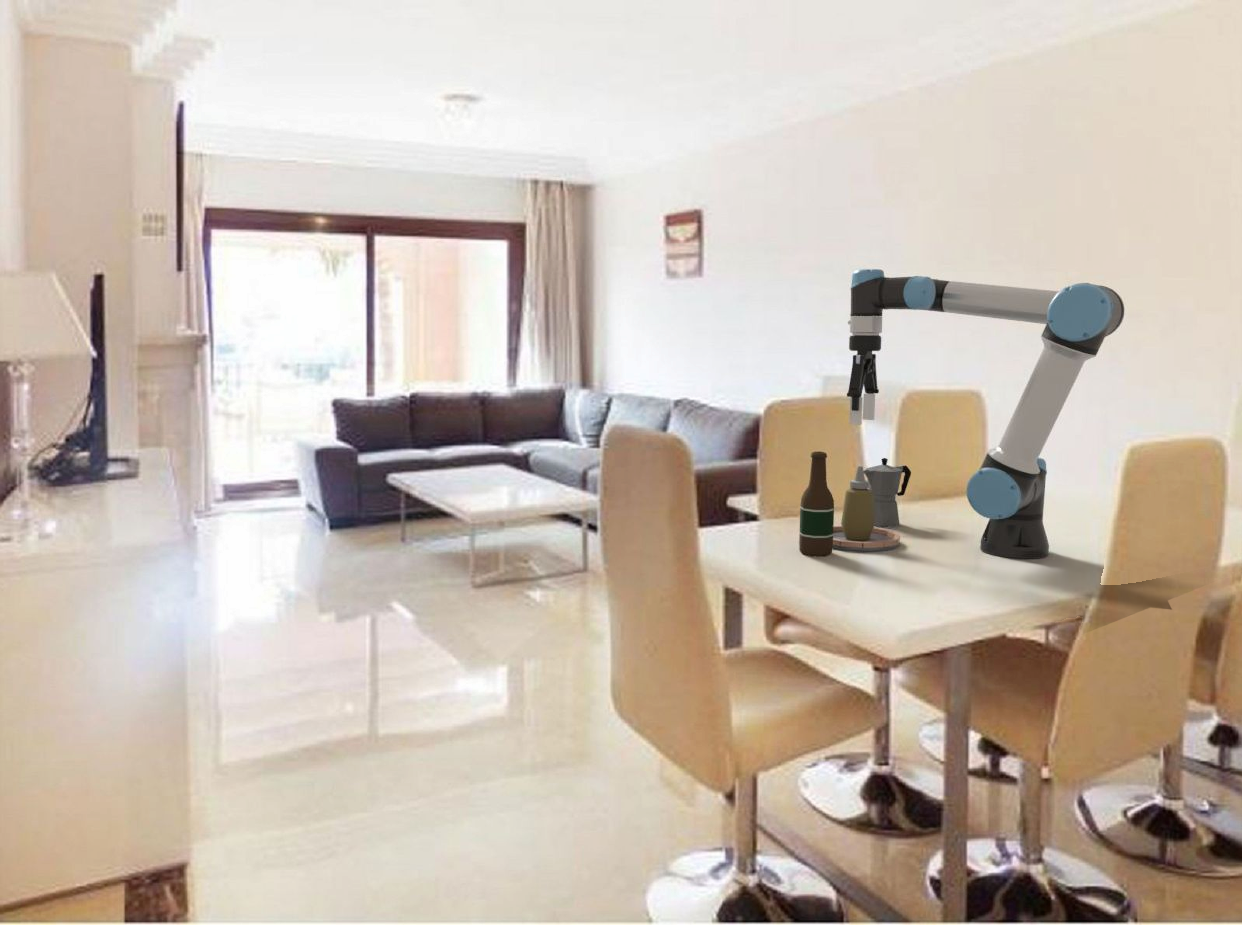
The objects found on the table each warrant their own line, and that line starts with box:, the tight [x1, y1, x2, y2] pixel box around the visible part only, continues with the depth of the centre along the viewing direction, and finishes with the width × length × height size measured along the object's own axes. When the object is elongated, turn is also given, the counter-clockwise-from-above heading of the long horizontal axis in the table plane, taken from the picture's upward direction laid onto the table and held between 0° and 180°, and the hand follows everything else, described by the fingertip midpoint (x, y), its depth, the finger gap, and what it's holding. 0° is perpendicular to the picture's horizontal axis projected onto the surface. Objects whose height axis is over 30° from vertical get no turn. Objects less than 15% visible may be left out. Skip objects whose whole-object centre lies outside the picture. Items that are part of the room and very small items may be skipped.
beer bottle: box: [798, 451, 835, 557], centre depth 227 cm, size 8×8×24 cm
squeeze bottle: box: [840, 465, 875, 540], centre depth 238 cm, size 8×8×18 cm
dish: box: [832, 525, 901, 553], centre depth 240 cm, size 20×20×2 cm
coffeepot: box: [863, 457, 912, 528], centre depth 262 cm, size 15×9×18 cm, turn 113°
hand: (862, 422), depth 237 cm, fingers open, 13 cm apart
